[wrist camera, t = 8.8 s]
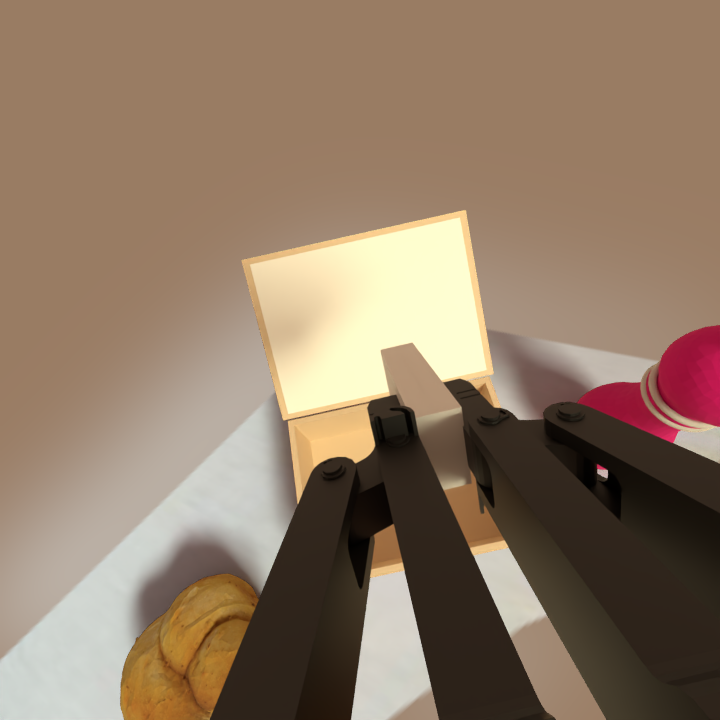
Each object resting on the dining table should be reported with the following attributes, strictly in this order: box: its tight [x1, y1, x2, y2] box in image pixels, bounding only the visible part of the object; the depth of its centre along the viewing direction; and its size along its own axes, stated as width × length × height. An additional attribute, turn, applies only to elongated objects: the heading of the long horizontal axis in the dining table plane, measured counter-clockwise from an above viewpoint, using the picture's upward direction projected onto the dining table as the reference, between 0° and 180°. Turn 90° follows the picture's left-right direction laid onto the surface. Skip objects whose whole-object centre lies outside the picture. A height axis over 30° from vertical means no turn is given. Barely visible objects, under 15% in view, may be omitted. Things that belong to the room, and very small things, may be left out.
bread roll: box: [120, 574, 259, 720], centre depth 29 cm, size 13×10×8 cm
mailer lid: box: [242, 210, 494, 420], centre depth 32 cm, size 19×14×1 cm
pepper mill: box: [577, 325, 720, 470], centre depth 27 cm, size 7×7×20 cm
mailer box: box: [288, 377, 509, 578], centre depth 33 cm, size 18×13×7 cm
